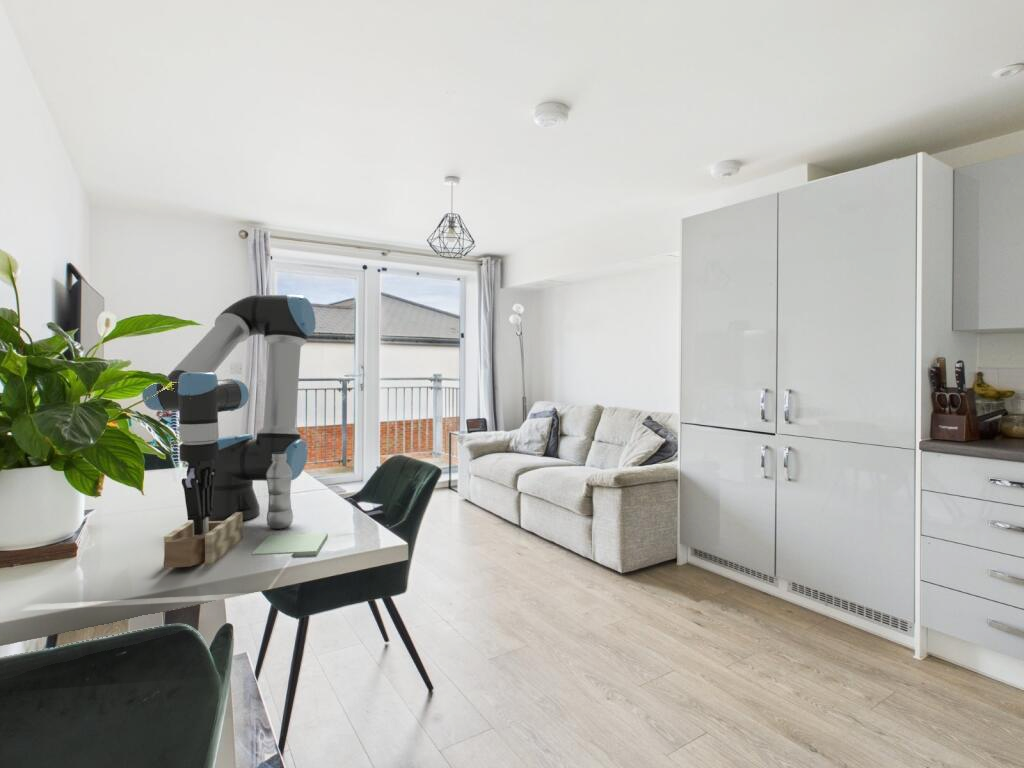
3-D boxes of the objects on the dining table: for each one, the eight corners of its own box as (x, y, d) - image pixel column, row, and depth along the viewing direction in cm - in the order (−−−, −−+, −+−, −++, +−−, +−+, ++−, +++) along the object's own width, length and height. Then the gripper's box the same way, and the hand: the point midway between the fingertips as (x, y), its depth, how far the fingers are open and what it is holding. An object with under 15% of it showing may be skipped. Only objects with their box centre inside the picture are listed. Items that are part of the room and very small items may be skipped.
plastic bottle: (298, 525, 149) (298, 452, 149) (280, 532, 143) (280, 455, 142) (279, 523, 152) (278, 450, 151) (260, 530, 145) (260, 454, 145)
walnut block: (180, 562, 119) (182, 537, 119) (205, 560, 119) (207, 537, 120) (163, 567, 111) (165, 542, 112) (190, 566, 112) (191, 540, 112)
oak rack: (201, 542, 135) (200, 513, 135) (242, 540, 136) (242, 512, 136) (164, 569, 116) (164, 536, 116) (212, 567, 118) (212, 534, 117)
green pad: (269, 539, 137) (269, 535, 137) (327, 536, 139) (327, 532, 139) (251, 558, 124) (251, 553, 123) (316, 555, 126) (316, 550, 126)
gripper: (193, 438, 128) (195, 538, 129) (167, 446, 115) (169, 558, 116) (227, 437, 129) (229, 537, 130) (205, 446, 116) (207, 556, 117)
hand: (201, 547), depth 123 cm, fingers closed
